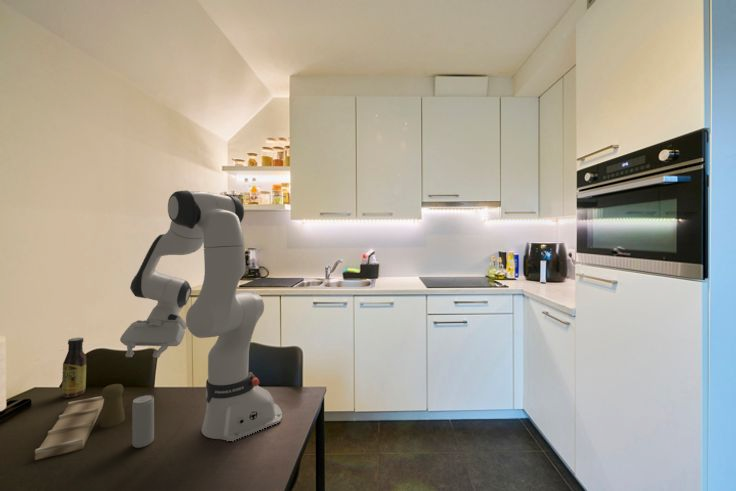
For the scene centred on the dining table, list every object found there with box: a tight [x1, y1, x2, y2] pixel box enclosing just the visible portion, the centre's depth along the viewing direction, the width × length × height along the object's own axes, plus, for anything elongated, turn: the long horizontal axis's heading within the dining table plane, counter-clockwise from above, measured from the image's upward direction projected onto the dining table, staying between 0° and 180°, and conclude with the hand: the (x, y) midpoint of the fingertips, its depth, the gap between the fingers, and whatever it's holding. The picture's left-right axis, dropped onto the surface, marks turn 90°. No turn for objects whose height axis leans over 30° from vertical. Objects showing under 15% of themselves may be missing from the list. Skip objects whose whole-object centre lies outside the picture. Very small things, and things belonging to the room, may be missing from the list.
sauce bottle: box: [61, 337, 87, 399], centre depth 114 cm, size 6×6×20 cm
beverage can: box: [131, 394, 155, 449], centre depth 87 cm, size 5×5×12 cm
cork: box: [99, 383, 126, 429], centre depth 97 cm, size 6×6×11 cm
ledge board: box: [34, 395, 104, 461], centre depth 94 cm, size 9×28×2 cm, turn 30°
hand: (141, 356), depth 109 cm, fingers open, 8 cm apart
